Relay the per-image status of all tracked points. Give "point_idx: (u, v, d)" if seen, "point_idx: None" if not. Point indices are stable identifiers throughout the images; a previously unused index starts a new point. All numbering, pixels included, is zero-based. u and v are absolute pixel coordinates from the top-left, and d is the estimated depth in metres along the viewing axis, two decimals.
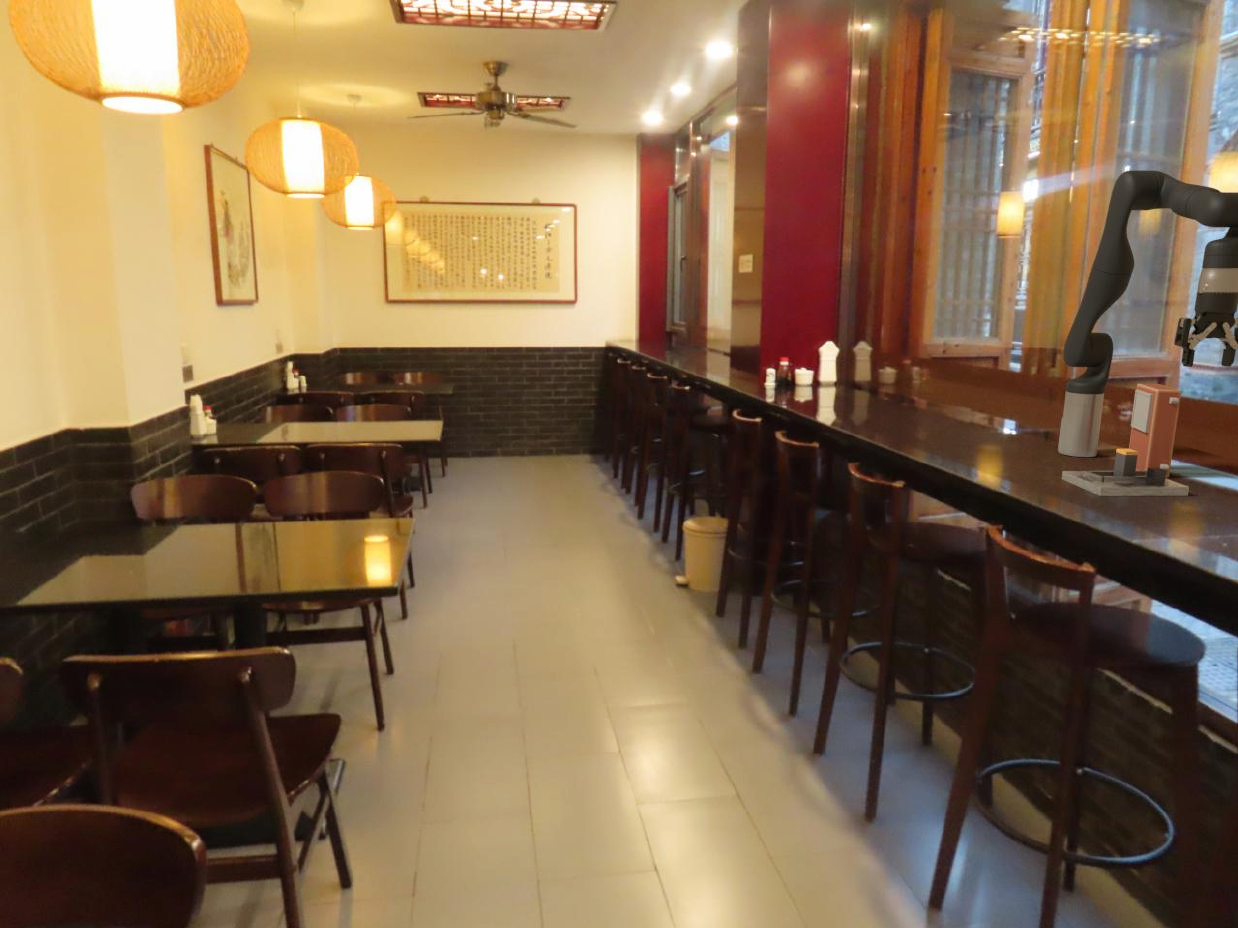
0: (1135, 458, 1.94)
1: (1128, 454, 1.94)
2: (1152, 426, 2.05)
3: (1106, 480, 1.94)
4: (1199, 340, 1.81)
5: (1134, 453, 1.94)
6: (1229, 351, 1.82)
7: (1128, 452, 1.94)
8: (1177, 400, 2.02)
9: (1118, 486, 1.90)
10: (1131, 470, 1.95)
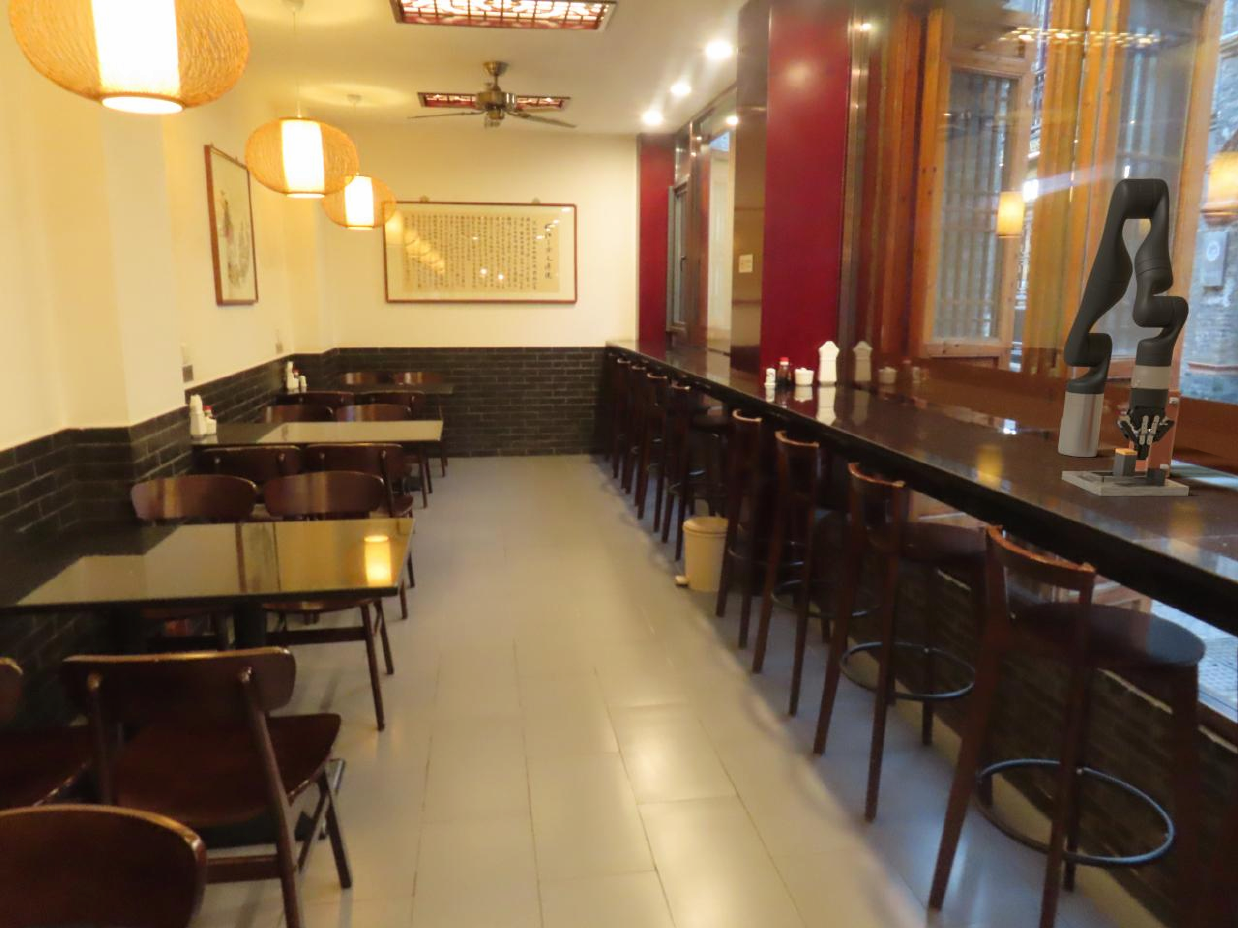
0: (1134, 458, 1.94)
1: (1127, 454, 1.94)
2: None
3: (1106, 480, 1.94)
4: (1144, 434, 1.93)
5: (1133, 453, 1.94)
6: (1144, 446, 1.94)
7: (1127, 452, 1.94)
8: (1177, 400, 2.02)
9: (1118, 486, 1.90)
10: (1130, 470, 1.95)
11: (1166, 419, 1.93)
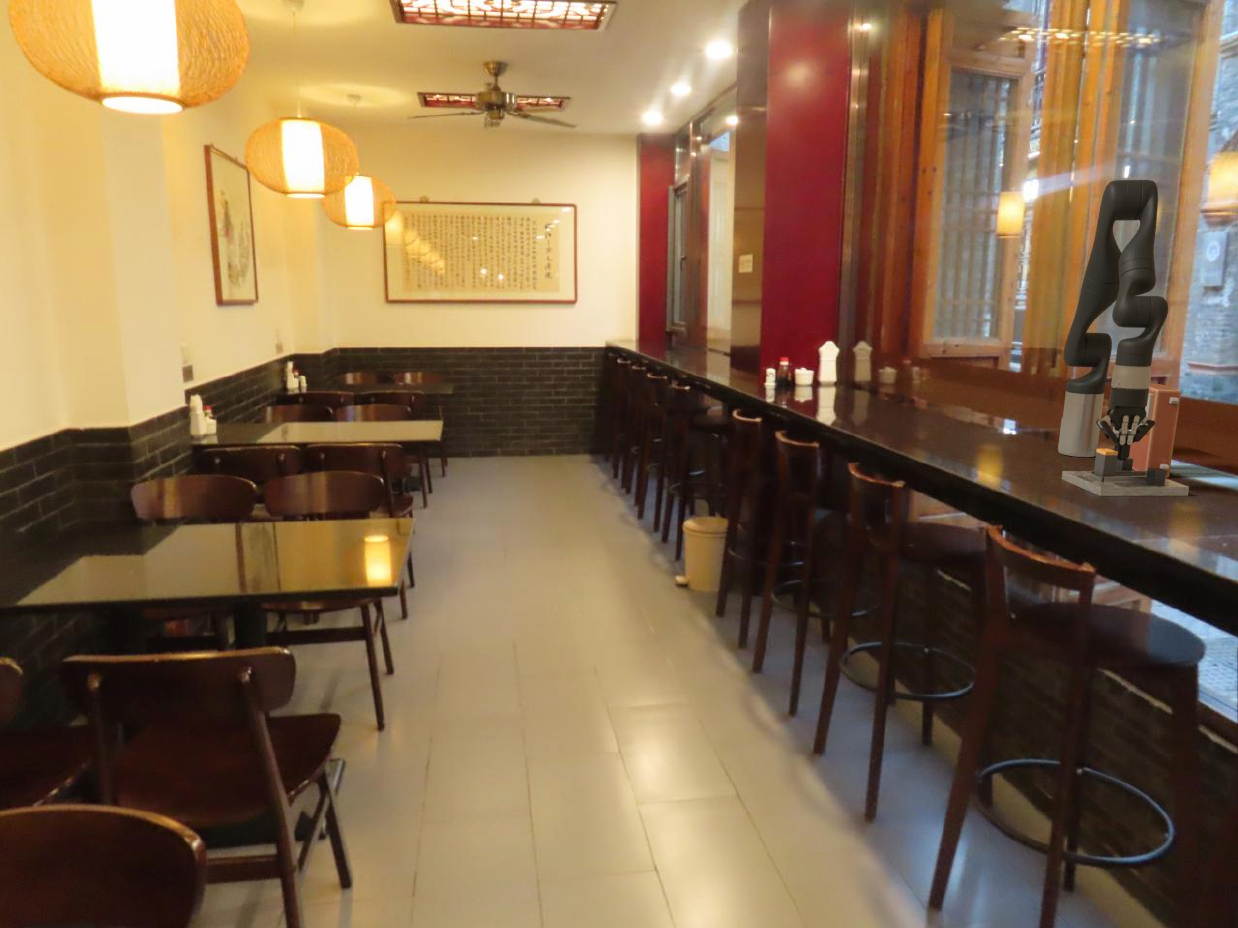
0: (1115, 458, 1.94)
1: (1108, 454, 1.94)
2: None
3: (1106, 480, 1.94)
4: (1124, 434, 1.93)
5: (1114, 453, 1.94)
6: (1124, 446, 1.94)
7: (1108, 452, 1.94)
8: (1177, 400, 2.02)
9: (1118, 486, 1.90)
10: (1111, 470, 1.94)
11: (1147, 419, 1.93)
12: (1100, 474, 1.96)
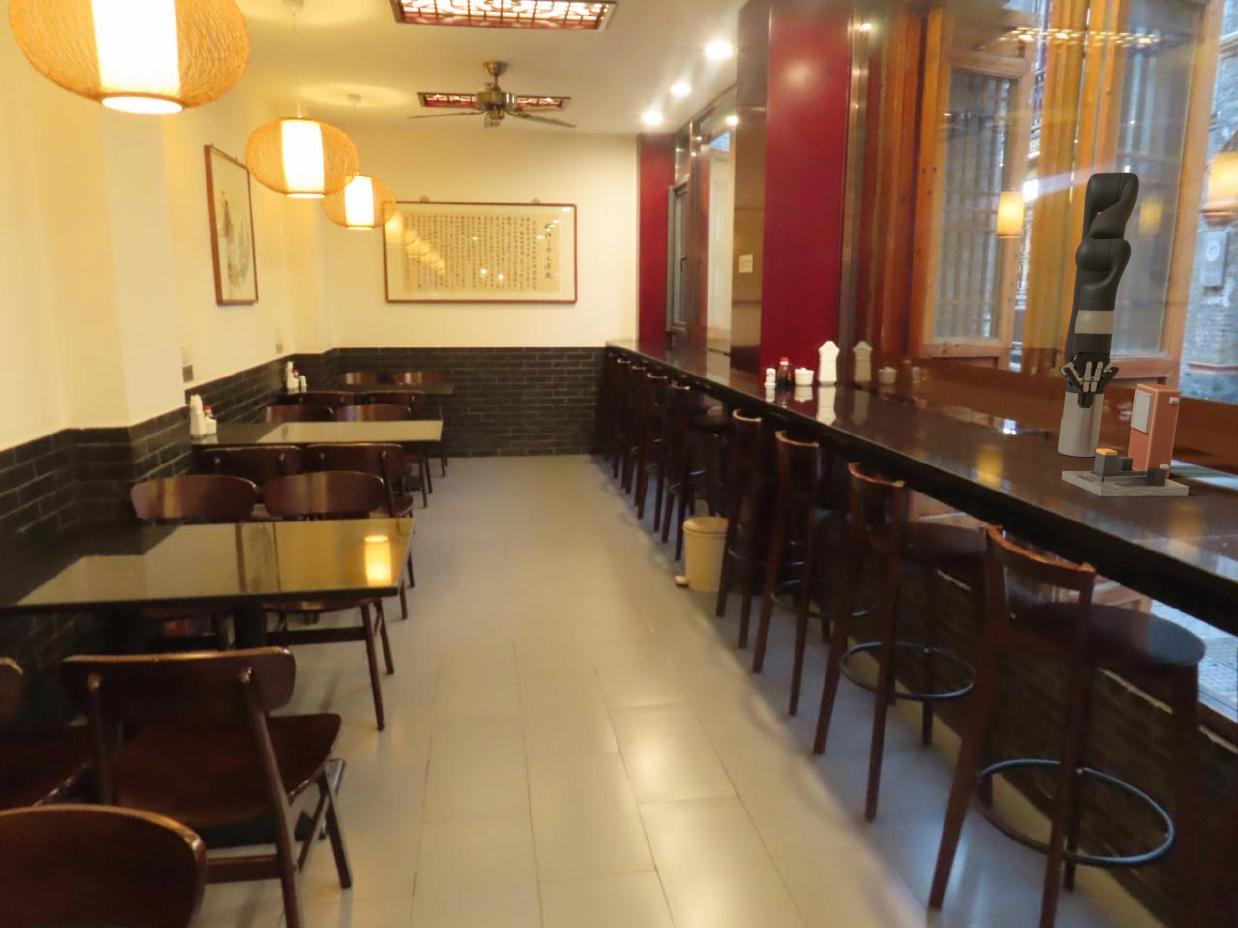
0: (1114, 458, 1.94)
1: (1107, 454, 1.94)
2: (1152, 426, 2.05)
3: (1106, 480, 1.94)
4: (1087, 381, 1.90)
5: (1113, 453, 1.94)
6: (1088, 394, 1.91)
7: (1107, 452, 1.94)
8: (1177, 400, 2.02)
9: (1118, 486, 1.90)
10: (1111, 470, 1.94)
11: (1110, 366, 1.90)
12: (1100, 474, 1.96)
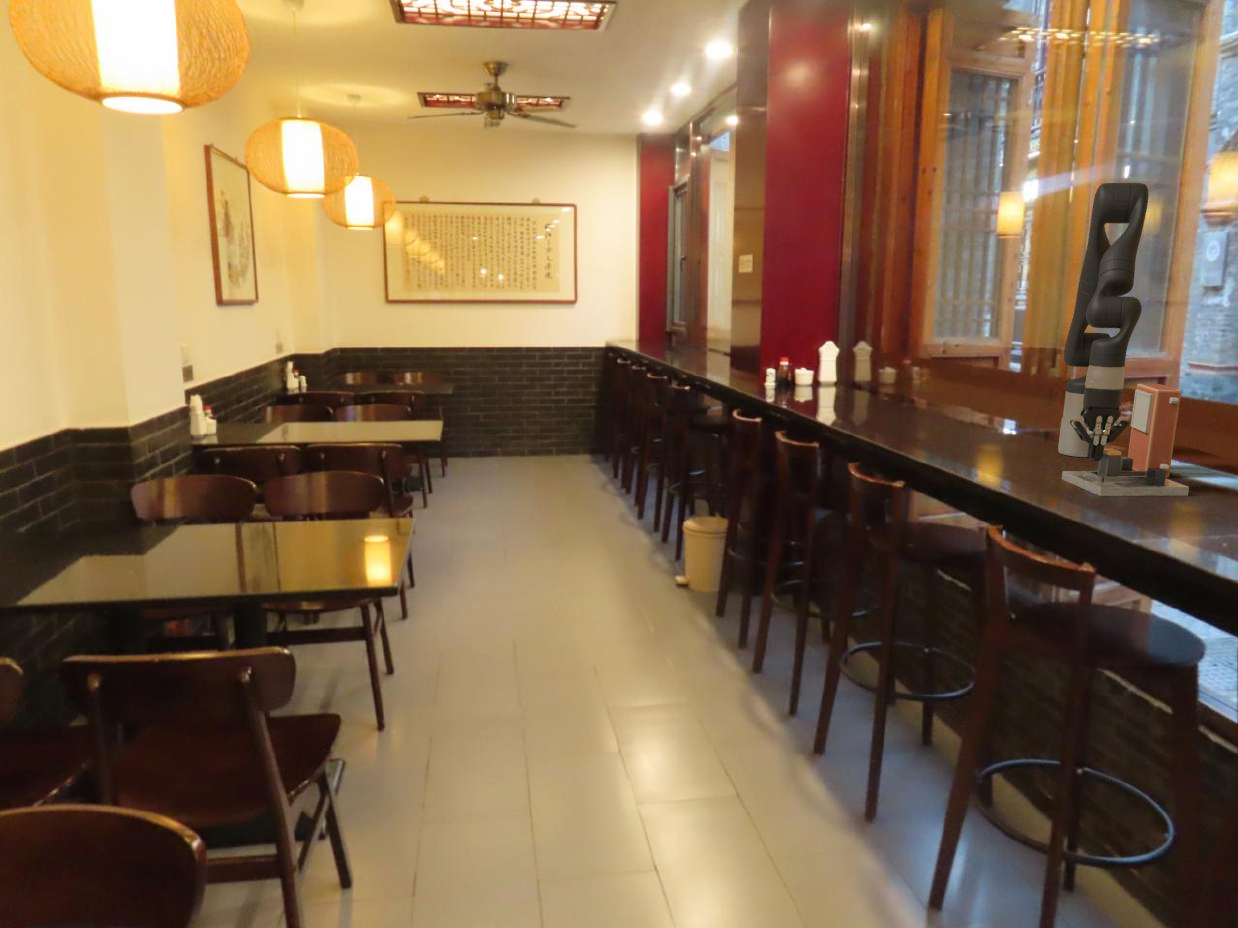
0: (1118, 458, 1.94)
1: (1111, 454, 1.94)
2: (1152, 426, 2.05)
3: (1106, 480, 1.94)
4: (1097, 435, 1.93)
5: (1117, 453, 1.94)
6: (1098, 447, 1.94)
7: (1111, 452, 1.94)
8: (1177, 400, 2.02)
9: (1118, 486, 1.90)
10: (1114, 470, 1.94)
11: (1120, 420, 1.93)
12: (1104, 474, 1.96)
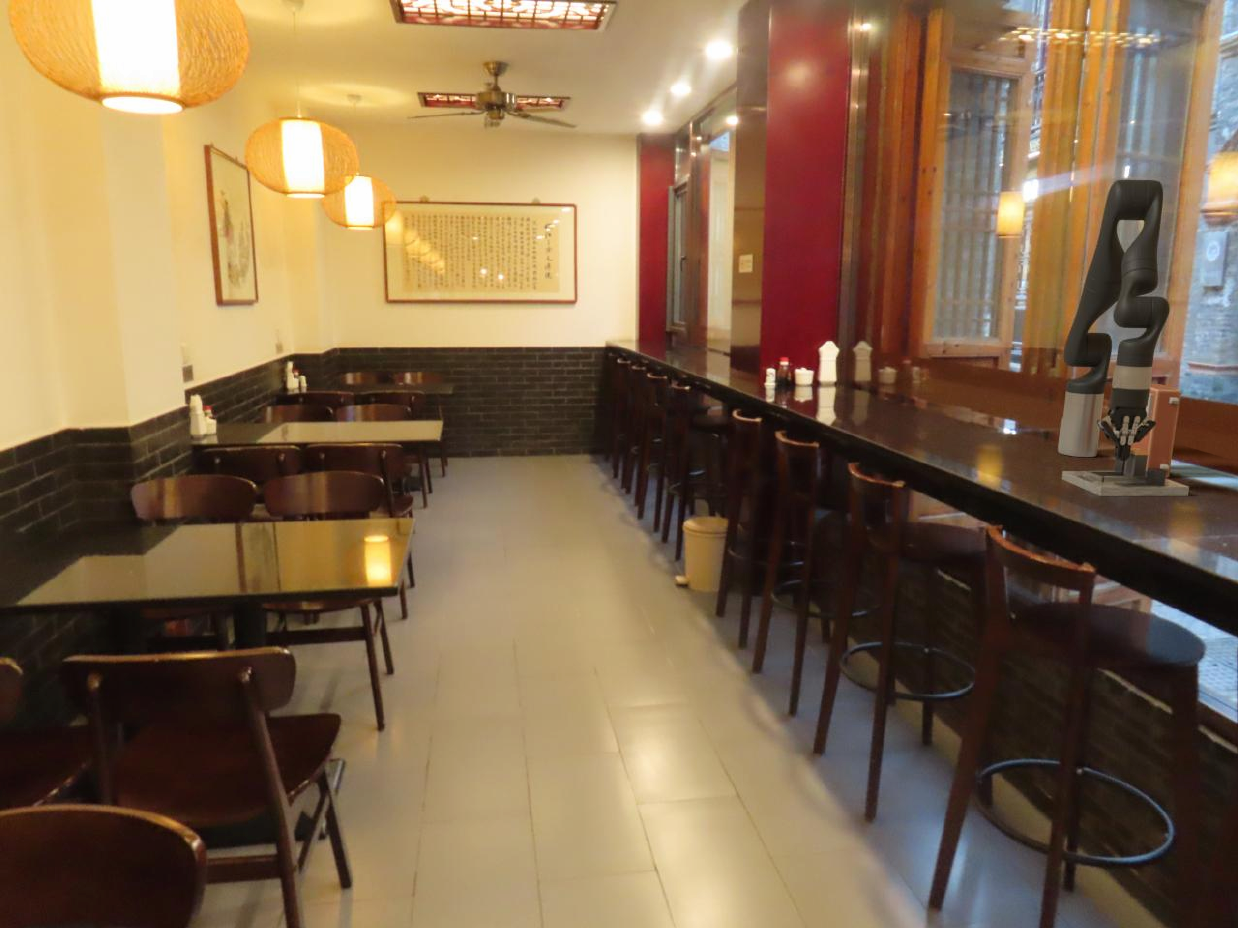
0: (1145, 458, 1.94)
1: (1138, 454, 1.94)
2: None
3: (1106, 480, 1.94)
4: (1124, 434, 1.93)
5: (1144, 453, 1.94)
6: (1125, 446, 1.95)
7: (1138, 452, 1.94)
8: (1177, 400, 2.02)
9: (1118, 486, 1.90)
10: (1141, 470, 1.95)
11: (1147, 419, 1.94)
12: (1130, 474, 1.96)
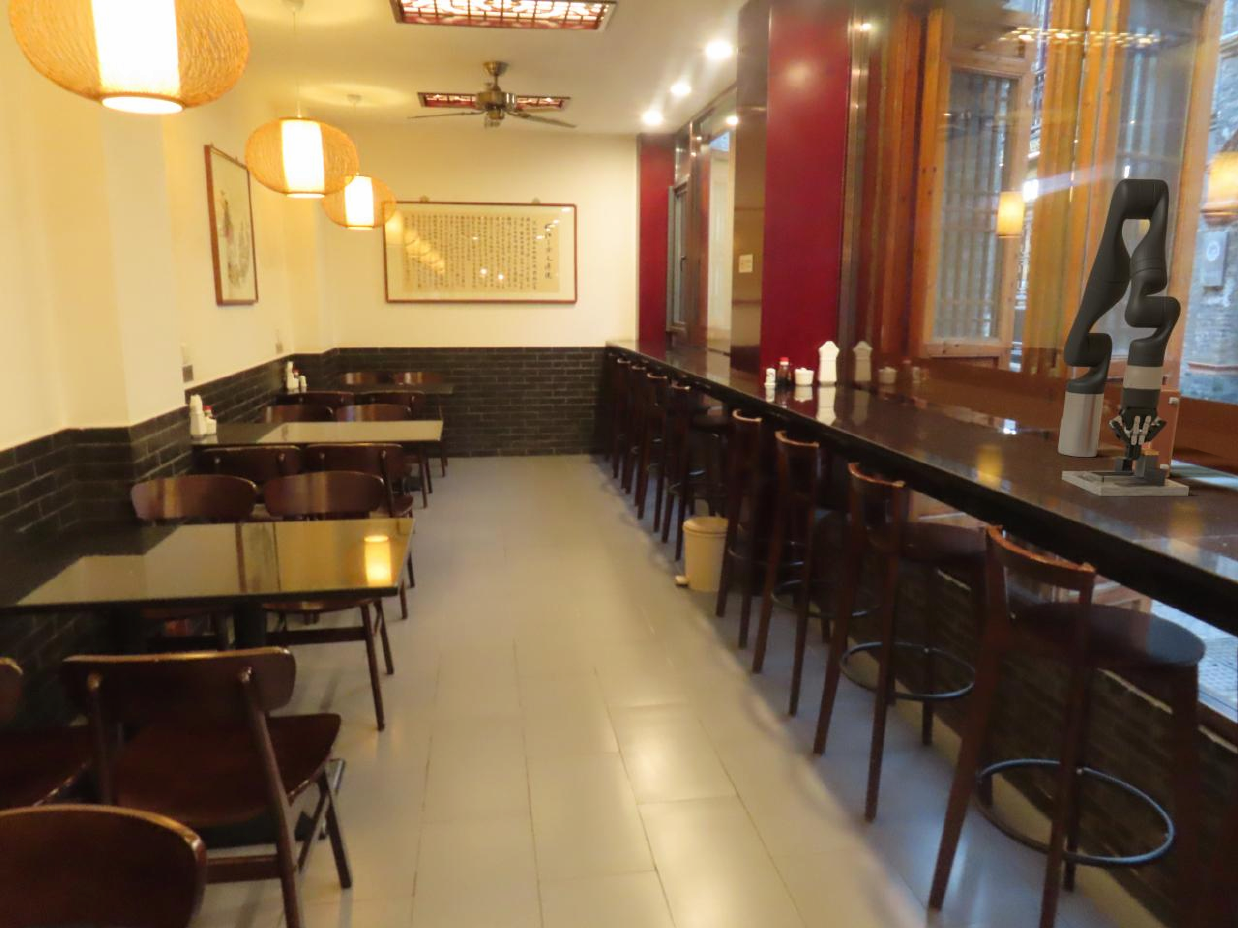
0: (1156, 458, 1.94)
1: (1149, 454, 1.94)
2: None
3: (1106, 480, 1.94)
4: (1135, 434, 1.93)
5: (1155, 453, 1.94)
6: (1135, 446, 1.94)
7: (1149, 452, 1.94)
8: (1177, 400, 2.02)
9: (1118, 486, 1.90)
10: None
11: (1158, 419, 1.94)
12: (1141, 474, 1.96)
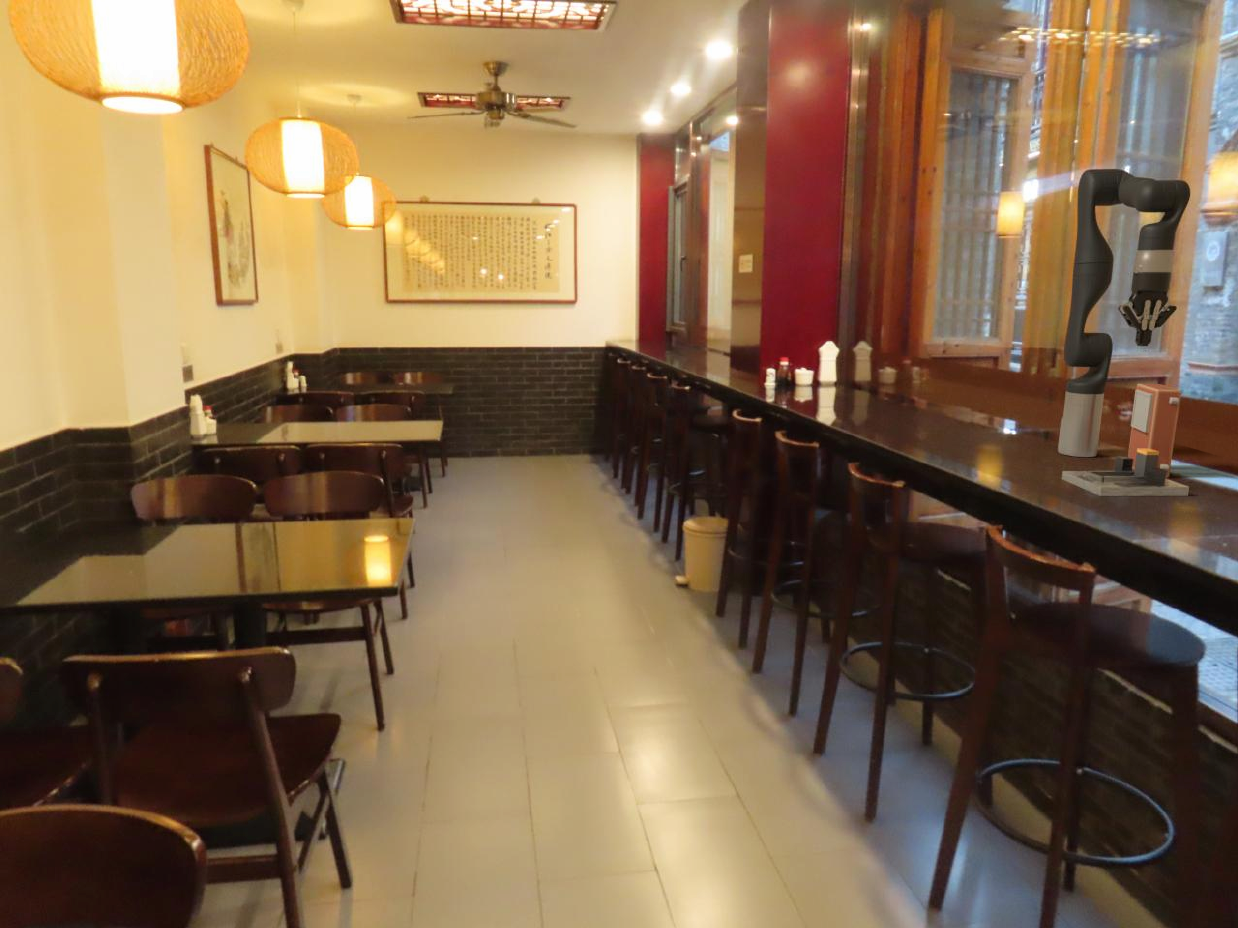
0: (1156, 458, 1.94)
1: (1149, 454, 1.94)
2: (1152, 426, 2.05)
3: (1106, 480, 1.94)
4: (1146, 319, 1.96)
5: (1155, 453, 1.94)
6: (1146, 332, 1.98)
7: (1149, 452, 1.94)
8: (1177, 400, 2.02)
9: (1118, 486, 1.90)
10: None
11: (1168, 305, 1.97)
12: (1141, 474, 1.96)
